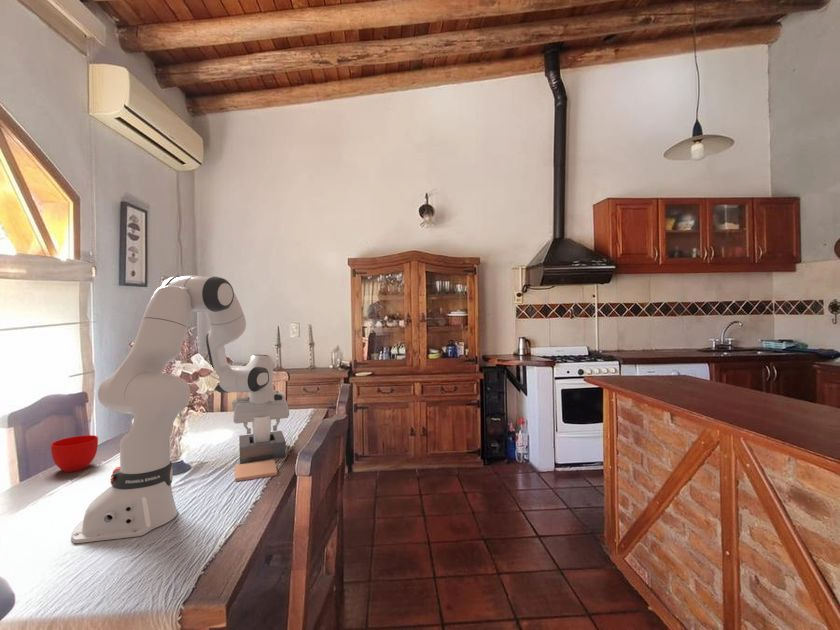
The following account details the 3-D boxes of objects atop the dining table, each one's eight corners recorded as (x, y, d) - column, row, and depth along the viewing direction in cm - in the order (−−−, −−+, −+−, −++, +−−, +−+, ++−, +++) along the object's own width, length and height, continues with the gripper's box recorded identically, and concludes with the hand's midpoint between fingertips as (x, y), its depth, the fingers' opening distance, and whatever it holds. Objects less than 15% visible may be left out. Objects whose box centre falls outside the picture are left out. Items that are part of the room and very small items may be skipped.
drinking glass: (248, 455, 162) (248, 416, 161) (262, 450, 168) (262, 412, 167) (261, 458, 158) (260, 418, 158) (275, 452, 164) (274, 414, 164)
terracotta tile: (235, 481, 137) (235, 478, 137) (235, 467, 149) (235, 465, 149) (277, 474, 142) (277, 471, 142) (274, 462, 154) (274, 459, 154)
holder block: (239, 464, 152) (239, 447, 152) (239, 450, 167) (239, 435, 167) (286, 457, 159) (285, 441, 159) (281, 445, 173) (281, 430, 173)
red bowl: (107, 456, 162) (107, 430, 162) (90, 472, 146) (89, 443, 146) (66, 461, 157) (65, 434, 157) (43, 478, 141) (43, 448, 141)
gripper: (231, 400, 156) (232, 437, 156) (289, 395, 164) (290, 430, 164) (232, 397, 161) (232, 433, 162) (287, 392, 170) (288, 426, 170)
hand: (262, 431), depth 163 cm, fingers open, 8 cm apart
